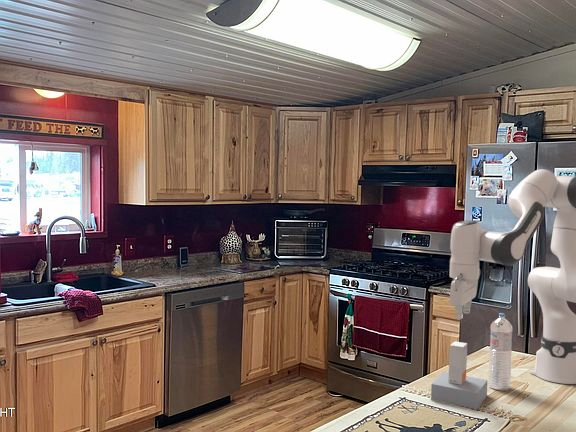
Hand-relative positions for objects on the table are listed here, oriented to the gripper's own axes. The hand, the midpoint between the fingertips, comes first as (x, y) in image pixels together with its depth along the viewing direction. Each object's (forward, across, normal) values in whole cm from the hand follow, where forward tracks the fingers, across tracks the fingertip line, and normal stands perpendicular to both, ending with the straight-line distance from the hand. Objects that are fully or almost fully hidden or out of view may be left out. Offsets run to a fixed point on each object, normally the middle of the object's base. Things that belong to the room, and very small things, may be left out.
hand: (462, 316), depth 172 cm
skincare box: (+21, 0, +1) cm, 21 cm away
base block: (+26, 0, 0) cm, 26 cm away
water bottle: (+26, +17, -9) cm, 32 cm away
